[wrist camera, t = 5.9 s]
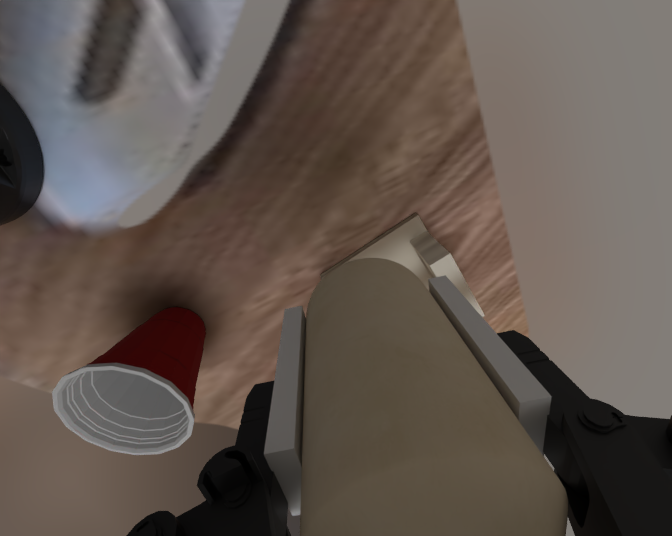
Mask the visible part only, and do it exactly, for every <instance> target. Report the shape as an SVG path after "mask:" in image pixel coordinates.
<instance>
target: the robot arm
mask: <svg viewBox="0 0 672 536" xmlns="http://www.w3.org/2000/svg"><path fill="white" fill-rule="evenodd" d="M42 179H43V164H42V157H41V152H40V148H39V145H38V142H37V139H36V136H35V134H34V132H33V130H32V127H31V125H30V123H29V122H28V120H27V118H26V116H25V115H24V113H23V112H22V110H21V109H20V107H19V106H18V104H17V103H16V102H15V100H14V99H13V98H12V97H11V95H10V94H9V93H8V92H7V91H6V90H5V88H4V87H3V86H2V85H1V84H0V225H2V224H5V223H8V222H10V221H13V220H15V219H17V218H18V217H20V216H22V215H23V214H24V213H25V212H26V211H28V210H29V209H30V207H31V206H32V205H33V204H34V202H35V200H36V199H37V197H38V194H39V192H40V189H41V185H42ZM428 284H429V292H430V293H431V295H432V296H433V298H434V299H435V301H436V302H437V304H438V305H439V306H440V308H441V309H442V311H443V312H444V314H445V315H446V317H447V318H448V319H449V321H450V322H451V324H452V325H453V327H454V328H455V330H456V331H457V332H458V334H459V335H460V337H461V338H462V340H463V341H464V342H465V344H466V345H467V347H468V348H469V350H470V351H471V353H472V354H473V355H474V357H475V358H476V360H477V361H478V363H479V364H480V366H481V367H482V368H483V370H484V371H485V373H486V374H487V376H488V377H489V379H490V380H491V381H492V383H493V384H494V386H495V387H496V389H497V390H498V392H499V393H500V394H501V396H502V397H503V399H504V400H505V402H506V403H507V405H508V406H509V407H510V409H511V410H512V412H513V413H514V415H515V416H516V417H517V419H518V420H519V422H520V423H521V425H522V426H523V428H524V429H525V430H526V432H527V433H528V435H529V436H530V438H531V439H532V441H533V442H534V443H535V445H536V446H537V448H538V449H539V451H540V452H541V454H542V455H543V456H544V454H545V455H546V457H547V458H548V460H549V461H550V462H551V464H552V465H553V467H554V468H555V469H554V472H555V474H556V475H557V477H558V478H559V480H560V481H561V483H562V485H563V486H564V488H565V490H566V493H567V497H568V518H569V521H570V523H571V526H572V529H573V531H574V534H575V536H672V416H671V418H670V419H660V418H648V417H635V416H629V415H624V414H623V413H622V412H621V411H619V410H617V409H616V408H614V407H613V406H611V405H609V404H606V403H604V402H601V401H599V400H595V399H590V398H589V397H588V396H586V394H585V393H584V392H583V391H582V390H581V389H579V387H577V386H576V384H575V383H573V382H572V381H571V380H570V379H569V378H568V377H567V376H566V375H565V374H564V373H563V372H562V371H561V370H560V369H559V368H558V367H557V366H556V365H555V364H554V363H553V362H552V361H550V360H549V358H548V357H547V356H546V355H545V354H544V353H543V352H542V351H540V349H539V348H538V347H537V346H536V345H535V344H534V343H533V342H532V341H531V340H530V339H529V338H528V337H526V336H524V335H522V334H520V333H518V332H516V331H514V330H512V331H507V332H502V333H497V334H496V332H495V331H494V330H493V329H492V328H491V327H490V326H489V324H488V323H487V322H486V321H485V320H484V319H483V318H482V316H481V315H480V314H479V313H478V312H477V311H476V310H475V308H474V307H473V306H472V305H471V304H470V303H469V302H468V300H467V299H466V298H465V297H464V296H463V295H462V294H461V292H460V291H459V290H458V289H457V288H456V287H455V286H454V284H453V283H452V282H451V281H450V280H449V279H448V278H447V276H446V275H444V276H440V277H435V278H430V279H428ZM305 339H306V318H305V314H304V311H303V307H302V306H298V307H294V308H289V309H285V312H284V319H283V326H282V333H281V340H280V346H279V353H278V360H277V367H276V374H275V381H270V382H265V383H260V384H256V385H255V386H254V387H253V389H252V390H251V392H250V393H249V395H248V396H247V398H246V402H245V406H244V410H243V411H244V413H243V415H242V419H241V425H240V427H239V431H238V436H237V440H236V444H235V446H232V447H228V448H225V449H223V450H221V451H220V452H218V453H217V454H215V455H214V456H213V457H212V458H211V459H210V460H209V461H208V462H207V463H206V465H205V466H204V468H203V470H202V471H201V473H200V475H199V479H198V484H197V486H198V488H199V489H200V491H201V492H202V494H203V496H204V497H205V498H206V501H205V502H203V503H201V504H200V505H198V506H196V507H194V508H192V509H191V510H189V511H187V512H185V513H183V514H182V515H180V516H178V517H175V516H174V515H173V514H171V513H170V512H169V511H158V512H155V513H153V514H150V515H148V516H147V517H145V518H144V519H143V520H141V521H140V522H139V523H138V524H136V525H135V526H134V528H133V529H132V530H131V531H130V532H129V534H128V535H127V536H291V534H290V532H289V529H288V527H287V512H288V507H289V509H290V511H291V514H292V515H293V516H295V515H300V508H301V474H302V440H303V406H304V373H305Z"/></svg>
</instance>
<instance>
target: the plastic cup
mask: <svg viewBox="0 0 672 536" xmlns="http://www.w3.org/2000/svg"><path fill="white" fill-rule="evenodd" d="M205 330H206V329H205V326H204V322H203V321H202V320H201V318H200V317H199V316H198V315H197V314H195V313H194V312H192V311H190V310H189V309H184V308H180V307H173V308H167V309H165V310H163V311H161V312H159V313H157V314H155V315H154V316H152V317H151V318H150V319H149V320H148V321H146V322H145V323H144V324H142V325H140V326H139V327H137V328H136V329H135V330H134V331H132V332H131V333H130V334H129V335H127V336H126V337H125V338H123V339H122V340H121V341H120V342H118V343H117V344H116V345H115V346H113V347H112V348H111V349H110V350H108V351H107V352H106V353H105V354H103V355H101V356H99V357H98V358H97V359H95V360H94V361H93V362H91V363H89V364H87V365H86V366H84V367H82V368H79V369H77V370H75V371H73V372H70V373H68V374H66V375H65V376H63V377H62V378H61V380H60V381H59V383H58V384H57V386H56V387H55V389H54V390H53V392H52V396H53V406H54V410H55V412H56V413H57V415H58V416H59V418H60V419H61V420H62V422H63V423H64V424H65V426H66V427H67V428H69V429H70V430H71V431H73V432H74V433H76V434H77V435H79V436H80V437H81V438H83V439H84V440H85V441H87V442H90V443H92V444H95V445H98V446H100V447H103V448H105V449H107V450H110V451H115V452H121V453H127V454H133V455H145V454H161V453H163V452H166V451H169V450H172V449H175V448H178V447H179V446H180V445H181V444H182V443H184V442H185V441H186V440H187V439H188V438H189V437H190V436H191V433H192V428H193V423H194V418H195V414H194V412H193V403H194V395H195V391H196V388H195V386H196V381H197V377H198V372H199V367H200V363H201V358H202V353H203V344H204V340H205V335H206V332H205Z"/></svg>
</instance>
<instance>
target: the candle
mask: <svg viewBox="0 0 672 536" xmlns="http://www.w3.org/2000/svg"><path fill="white" fill-rule="evenodd" d="M567 518H568V497H567V493H566V490H565V488H564V486H563V485H562V483H561V481H560V480H559V478H558V477H557V475H556V474H555V472H554V471H553V470H552V468H551V467H550V465H549V464H548V462H547V461H546V459H545V458H544V456H543V455H542V454H541V452H540V451H539V449H538V448H537V446H536V445H535V443H534V442H533V441H532V439H531V438H530V436H529V435H528V433H527V432H526V430H525V429H524V428H523V426H522V425H521V423H520V422H519V420H518V419H517V417H516V416H515V415H514V413H513V412H512V410H511V409H510V407H509V406H508V405H507V403H506V402H505V400H504V399H503V397H502V396H501V394H500V393H499V392H498V390H497V389H496V387H495V386H494V384H493V383H492V381H491V380H490V379H489V377H488V376H487V374H486V373H485V371H484V370H483V368H482V367H481V366H480V364H479V363H478V361H477V360H476V358H475V357H474V355H473V354H472V353H471V351H470V350H469V348H468V347H467V345H466V344H465V342H464V341H463V340H462V338H461V337H460V335H459V334H458V332H457V331H456V330H455V328H454V327H453V325H452V324H451V322H450V321H449V319H448V318H447V317H446V315H445V314H444V312H443V311H442V309H441V308H440V306H439V305H438V304H437V302H436V301H435V299H434V298H433V296H432V295H431V293H430V292H429V291H428V289H427V288H426V287H425V285H424V284H423V283H422V281H421V280H420V279H419V278H418V277H417V276H416V275H415V274H414V273H413V272H412V271H410V270H409V269H408V268H406V267H405V266H403V265H401V264H399V263H397V262H394V261H391V260H388V259H382V258H363V259H358V260H353V261H350V262H347V263H345V264H343V265H341V266H338V267H337V268H335V269H334V270H332V271H331V272H329V273H328V274H327V275H326V276H325V277H324V278H323V279H322V280H321V281H320V282H319V283H318V285H317V286H316V288H315V289H314V291H313V293H312V295H311V298H310V301H309V304H308V308H307V316H306V339H305V373H304V406H303V440H302V474H301V508H300V536H565V534H566V527H567Z"/></svg>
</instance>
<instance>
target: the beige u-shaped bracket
mask: <svg viewBox="0 0 672 536" xmlns="http://www.w3.org/2000/svg"><path fill="white" fill-rule="evenodd" d="M363 258H382V259H388V260H391V261H394V262H397V263H399V264H401V265H403V266H405V267H406V268H408V269H409V270H410V271H412V272H413V273H414V274H415V275H416V276H417V277H418V278H419V279H420V280H421V281H422V283H423V284H424V285H425V287H426V288H427V289H428V291H429V284H428V279H430V278H435V277H440V276H444V275H446V276H447V278H448V279H449V280H450V281H451V282H452V283H453V284H454V286H455V287H456V288H457V289H458V290H459V291H460V292H461V294H462V295H463V296H464V297H465V298H466V299H467V300H468V302H469V303H470V304H471V305H472V306H473V307H474V308H475V310H476V311H477V312H478V313H479V314H480V315H481V316H482V317H483V316H485V315H484V313H483V311H482V310H481V308H480V306H479V304H478V302H477V301H476V299H475V297H474V295H473V293H472V292H471V290H470V288H469V286H468V284H467V283H466V281H465V279H464V277H463V275H462V274H461V272H460V270H459V268H458V266H457V265H456V263H455V261H454V259H453V257H452V256H451V254H450V253H449V252H448V251H447V250H446V249H445V248H444V247H443V246H442V245H441V244H440V243H439V242H438V241H437V240H435V239H434V238H433V237H432V236H431V235H430V234H429V233H428V231H427V229H426V228H425V226H424V224H423V222H422V221H421V219H420V217H419V215H418V214H417V213H415V214H413V215H411V216H410V217H408V218H407V219H405V220H404V221H402V222H401V223H399V224H398V225H396V226H395V227H393V228H392V229H390V230H388V231H387V232H385V233H384V234H382V235H381V236H379V237H378V238H376V239H375V240H373V241H372V242H370V243H369V244H367V245H365V246H364V247H362V248H361V249H359V250H358V251H356V252H355V253H353V254H352V255H350V256H349V257H347V258H346V259H344V260H342V261H341V262H339V263H338V264H336V265H335V266H333V267H332V268H330V269H329V270H327V271H326V272H324V273H323V274H321V275H320V276H321V279H323V278H324V277H325V276H326V275H327V274H328V273H329V272H331V271H332V270H334V269H335V268H337V267H338V266H341V265H343V264H345V263H347V262H350V261H353V260H358V259H363Z"/></svg>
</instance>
